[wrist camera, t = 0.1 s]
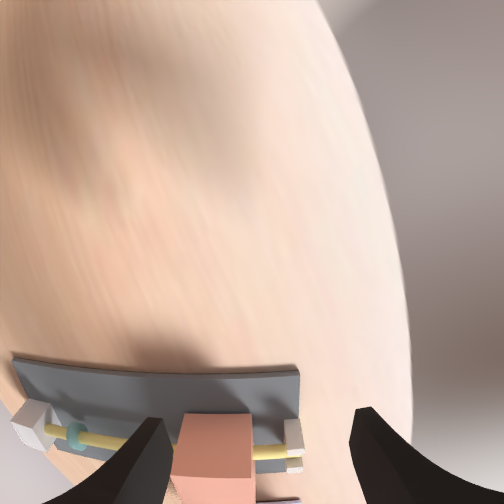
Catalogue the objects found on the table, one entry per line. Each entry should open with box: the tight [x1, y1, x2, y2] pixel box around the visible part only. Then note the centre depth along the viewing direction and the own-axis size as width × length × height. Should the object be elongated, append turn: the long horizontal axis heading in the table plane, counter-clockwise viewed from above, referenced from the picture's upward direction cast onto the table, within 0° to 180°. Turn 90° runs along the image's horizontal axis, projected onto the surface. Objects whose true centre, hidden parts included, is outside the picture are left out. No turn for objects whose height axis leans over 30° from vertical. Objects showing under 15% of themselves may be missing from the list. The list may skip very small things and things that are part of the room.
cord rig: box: [10, 357, 305, 474], centre depth 21 cm, size 12×25×4 cm, turn 93°
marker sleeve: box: [170, 413, 256, 504], centre depth 19 cm, size 6×5×6 cm
